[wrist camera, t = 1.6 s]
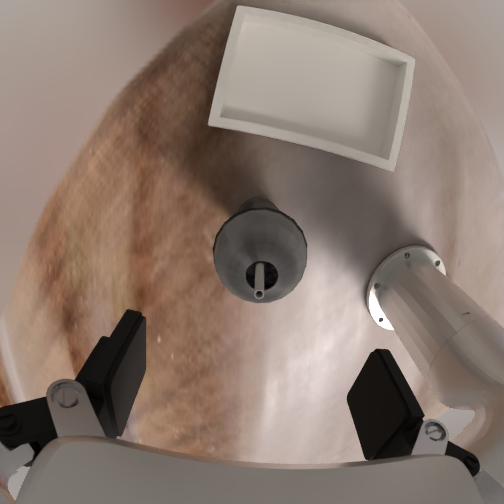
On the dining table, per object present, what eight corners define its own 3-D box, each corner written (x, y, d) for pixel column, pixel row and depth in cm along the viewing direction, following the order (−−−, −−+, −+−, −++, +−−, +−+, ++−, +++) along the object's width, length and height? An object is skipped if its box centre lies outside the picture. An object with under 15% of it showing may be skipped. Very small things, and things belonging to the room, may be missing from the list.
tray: (403, 63, 26) (415, 58, 24) (383, 169, 31) (394, 172, 29) (238, 15, 25) (237, 5, 22) (211, 126, 30) (207, 125, 27)
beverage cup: (234, 253, 35) (214, 374, 16) (219, 193, 33) (173, 263, 14) (295, 241, 35) (338, 353, 16) (283, 179, 32) (326, 232, 13)
